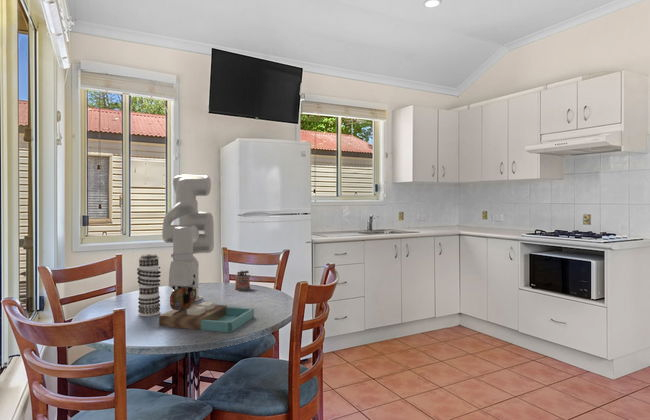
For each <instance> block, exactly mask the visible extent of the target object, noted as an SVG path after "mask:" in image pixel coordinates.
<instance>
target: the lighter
mask: <svg viewBox="0 0 650 420" xmlns="http://www.w3.org/2000/svg"><path fill="white" fill-rule="evenodd" d="M249 273H250V271H249V270H240V271H237V275H234V278H235V288H234V290H235V291H246V290H245V289H247V290H251V287H250V285H251V284H250V283H251V282H250V281H251V279H250V278H251V274H249Z"/></svg>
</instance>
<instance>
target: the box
mask: <svg viewBox="0 0 650 420" xmlns="http://www.w3.org/2000/svg"><path fill="white" fill-rule="evenodd" d="M254 314H255V312H254V308H246V307H234V306H233V307H232V306H227V307H226V315H225V316H223V317H222V318H220V319H218V320H216V321H213V320H201V330H200V331H211V332H223V333H232V332H234V331H235V330H236V329H238V328H239V327H241V326H243V325H244V324H246V323H247V322H248V321H250V320H252V319H254V316H255V315H254Z"/></svg>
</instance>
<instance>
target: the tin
mask: <svg viewBox="0 0 650 420" xmlns="http://www.w3.org/2000/svg"><path fill="white" fill-rule="evenodd" d="M192 286H193V285H191V287H192ZM172 291H173V290H172ZM171 293H172V294H170V297H169V305H170V308H171V310H179V311H180V310H183V309H185V308H187V307H189V306H191V305H193V303H196V301H195V299H196V288H195V289H194V290H193V291H192V292H191V293H190V303H187V304H184V294H185V287H181V288H178V289H175V290H174V291H173V292H171Z"/></svg>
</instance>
